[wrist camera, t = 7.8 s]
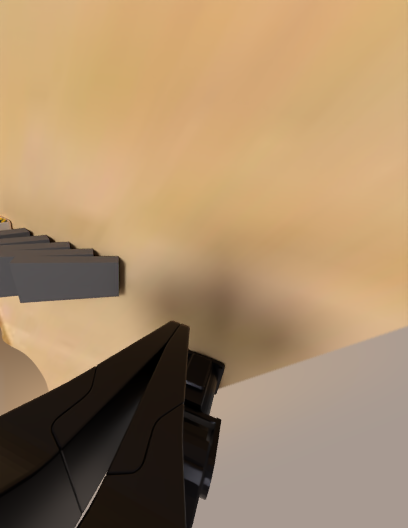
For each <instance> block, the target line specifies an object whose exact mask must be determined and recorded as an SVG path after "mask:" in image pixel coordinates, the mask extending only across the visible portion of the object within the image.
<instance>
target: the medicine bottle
mask: <svg viewBox="0 0 408 528" xmlns="http://www.w3.org/2000/svg"><path fill="white" fill-rule="evenodd" d="M11 229H12V228H11V223H10V221H9V220H7V219H5V218H3V217H0V231H2V230H11Z"/></svg>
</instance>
